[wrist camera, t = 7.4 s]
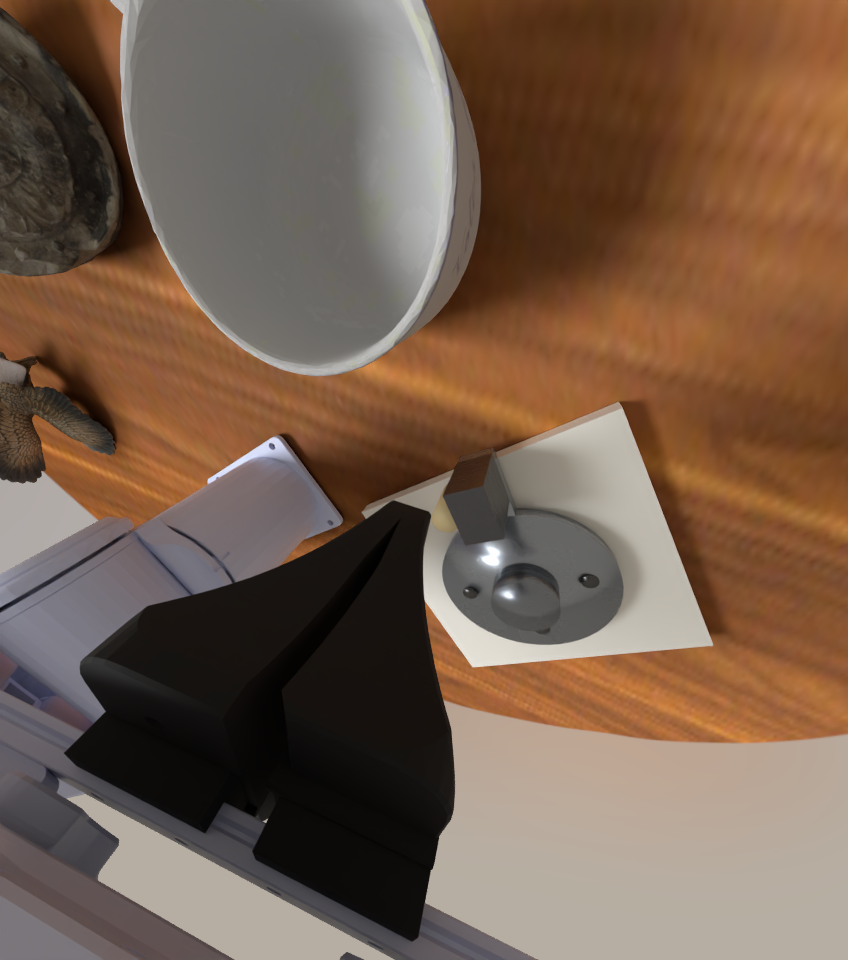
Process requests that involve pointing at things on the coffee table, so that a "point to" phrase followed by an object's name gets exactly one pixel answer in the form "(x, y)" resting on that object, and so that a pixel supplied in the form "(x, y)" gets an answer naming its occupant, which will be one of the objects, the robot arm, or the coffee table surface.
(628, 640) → the base plate
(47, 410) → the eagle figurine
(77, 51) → the coffee table surface
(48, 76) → the fossil
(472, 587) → the flange plate
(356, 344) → the teacup
